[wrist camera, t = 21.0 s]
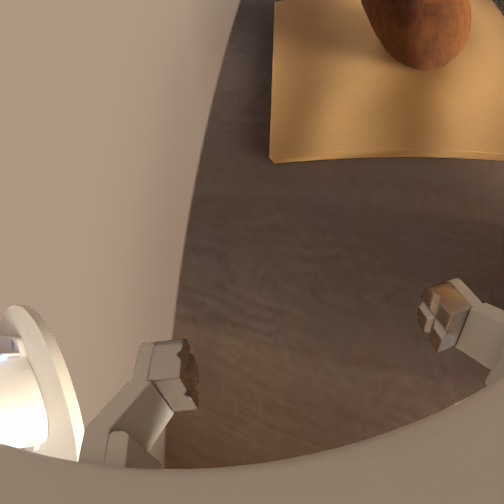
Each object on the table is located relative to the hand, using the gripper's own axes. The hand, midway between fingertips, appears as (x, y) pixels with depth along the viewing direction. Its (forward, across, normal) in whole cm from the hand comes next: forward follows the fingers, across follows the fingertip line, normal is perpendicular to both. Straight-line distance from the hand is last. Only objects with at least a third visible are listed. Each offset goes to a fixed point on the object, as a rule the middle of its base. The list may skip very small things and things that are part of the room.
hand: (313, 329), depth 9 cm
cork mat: (+12, +12, +9) cm, 19 cm away
